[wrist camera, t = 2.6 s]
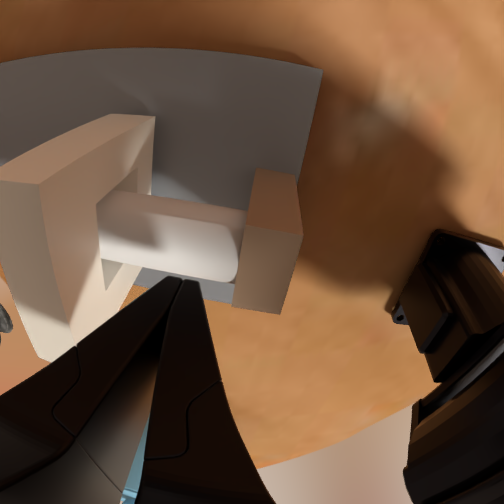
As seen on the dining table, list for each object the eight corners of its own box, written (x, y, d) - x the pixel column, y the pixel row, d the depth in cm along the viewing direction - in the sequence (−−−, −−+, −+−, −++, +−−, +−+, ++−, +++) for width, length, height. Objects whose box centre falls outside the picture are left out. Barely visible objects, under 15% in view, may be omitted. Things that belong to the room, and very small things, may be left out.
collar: (155, 116, 11) (38, 184, 5) (150, 252, 15) (86, 375, 9) (110, 113, 11) (-19, 178, 5) (113, 245, 15) (38, 357, 9)
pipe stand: (319, 69, 11) (355, 72, 6) (266, 295, 18) (260, 390, 13) (-43, 75, 11) (-116, 101, 5) (-24, 233, 17) (-75, 282, 12)
